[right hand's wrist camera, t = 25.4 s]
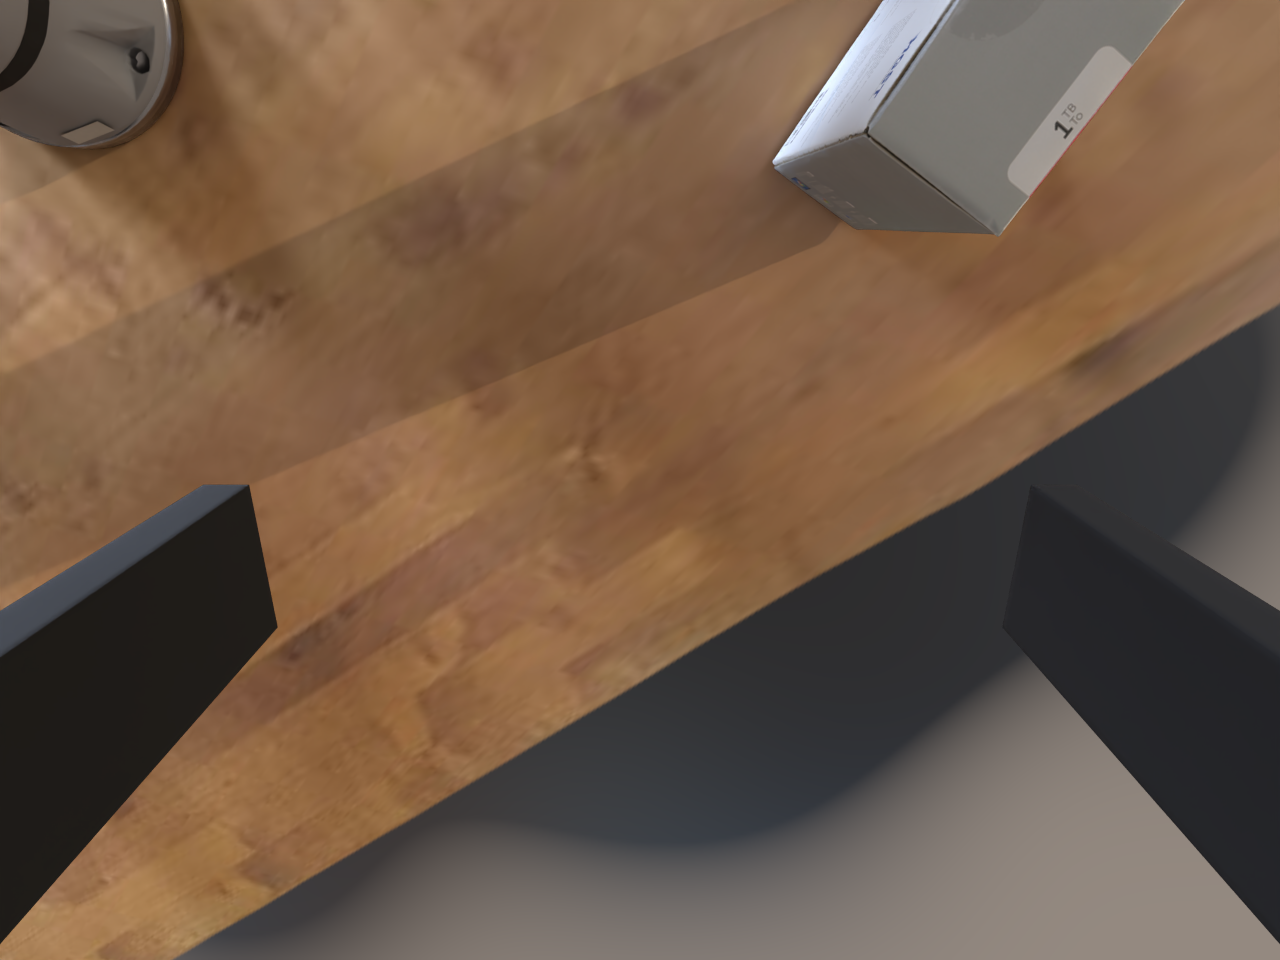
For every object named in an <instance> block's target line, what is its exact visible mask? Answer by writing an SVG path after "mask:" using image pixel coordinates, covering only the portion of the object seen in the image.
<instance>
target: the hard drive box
mask: <svg viewBox="0 0 1280 960" xmlns="http://www.w3.org/2000/svg"><path fill="white" fill-rule="evenodd" d="M1184 1H1185V0H883V1H882V3H881V4H880V6H879V7H878V9H877V10H876V12H875V14H874V15H873V17H872V18H871V19H870V21H869V22H868V24H867V25H866V27H865V28H864V29H863V31H862V32H861V34H860V35H859V36H858V38H857V39H856V41H855V42H854V44H853V45H852V46H851V48H850V49H849V51H848V52H847V54H846V55H845V57H844V58H843V60H842V61H841V63H840V64H839V65H838V67H837V68H836V70H835V71H834V73H833V74H832V76H831V77H830V79H829V80H828V81H827V83H826V84H825V86H824V87H823V89H822V90H821V92H820V93H819V94H818V96H817V97H816V99H815V100H814V102H813V103H812V104H811V106H810V107H809V109H808V110H807V112H806V113H805V115H804V116H803V118H802V119H801V121H800V122H799V123H798V125H797V126H796V128H795V130H794V131H793V133H792V134H791V135H790V137H789V138H788V140H787V141H786V143H785V144H784V145H783V147H782V148H781V150H780V151H779V153H778V154H777V156H776V157H775V159H774V160H773V164H774V165H775V170H777V171H778V172H779V173H781V174H782V175H783V176H784V177H786V178H787V179H788V180H790V181H791V182H792V183H794V184H795V185H796V186H798V187H799V188H800V189H802V190H803V191H804V192H806V193H807V194H808V195H810V196H811V197H812V198H814V199H815V200H816V201H818V202H819V203H821V204H822V205H823V206H824V207H826V208H827V209H828V210H830V211H831V212H832V213H834V214H835V215H837V216H838V217H839V218H841V219H842V220H843V221H845V222H846V223H847V224H849V225H850V226H852V227H853V228H855V229H866V230H893V231H918V232H949V233H978V234H995V235H996V236H1000V235H1001V233H1002V232H1003V231H1004V229H1005V228H1006V227H1007V225H1008V224H1009V223H1010V222H1011V220H1012V219H1013V218H1014V216H1015V215H1016V214H1017V213H1018V211H1019V210H1020V209H1021V207H1022V206H1023V205H1024V204H1025V202H1026V201H1027V200H1028V199H1029V198H1030V197H1031V195H1032V194H1033V193H1034V192H1035V190H1036V189H1037V188H1038V187H1039V185H1040V184H1041V183H1042V182H1043V180H1044V179H1045V178H1046V176H1047V175H1048V174H1049V173H1050V171H1051V170H1052V169H1053V168H1054V166H1055V165H1056V164H1057V162H1058V161H1059V160H1060V158H1061V157H1062V156H1063V155H1064V153H1065V152H1066V151H1067V150H1068V148H1069V147H1070V146H1071V145H1072V144H1073V142H1074V141H1075V140H1076V138H1077V137H1078V136H1079V135H1080V133H1081V132H1082V131H1083V129H1084V128H1085V127H1086V125H1087V124H1088V123H1089V122H1090V120H1091V119H1092V118H1093V116H1094V115H1095V114H1096V113H1097V111H1098V110H1099V109H1100V107H1101V106H1102V105H1103V104H1104V102H1105V101H1106V100H1107V99H1108V97H1109V96H1110V95H1111V93H1112V92H1113V91H1114V90H1115V88H1116V87H1117V86H1118V85H1119V83H1120V82H1121V81H1122V79H1123V78H1124V77H1125V76H1126V74H1127V73H1128V72H1129V70H1130V69H1131V67H1132V66H1133V65H1134V63H1135V62H1136V60H1137V59H1138V58H1139V57H1140V55H1141V54H1142V53H1143V52H1144V50H1145V49H1146V48H1147V47H1148V45H1149V44H1150V43H1151V41H1152V40H1153V39H1154V38H1155V36H1156V35H1157V34H1158V33H1159V31H1160V30H1161V29H1162V28H1163V26H1164V25H1165V24H1166V23H1167V22H1168V20H1169V19H1170V18H1171V17H1172V15H1173V14H1174V13H1175V12H1176V10H1177V9H1178V8H1179V7H1180V6H1181V4H1182V3H1183V2H1184Z"/></svg>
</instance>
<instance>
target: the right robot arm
mask: <svg viewBox="0 0 1280 960" xmlns="http://www.w3.org/2000/svg"><path fill="white" fill-rule="evenodd" d="M183 53H184V35H183V24H182V18H181V11H180V7H179V3H178V0H0V126H1V127H3V128H5V129H7V130H8V131H10V132H12V133H14V134H17V135H19V136H21V137H24V138H26V139H29V140H32V141H35V142H39V143H43V144H47V145H53V146H61V147H69V148H78V149H101V148H108V147H113V146H116V145H120V144H123V143H125V142H128V141H130V140H132V139H134V138H136V137H137V136H139V135H141V134H142V133H144V132H145V131H146V130H147V129H149V128H150V127H151V126H152V125H153V124H154V123H155V122H156V121H157V120H158V119H159V118H160V116H161V115H162V114H163V112H164V111H165V110H166V108H167V106H168V105H169V103H170V101H171V100H172V97H173V95H174V93H175V90H176V88H177V85H178V81H179V78H180V74H181V69H182V63H183ZM276 629H277V622H276V617H275V612H274V607H273V602H272V597H271V592H270V587H269V582H268V577H267V572H266V567H265V562H264V557H263V552H262V547H261V542H260V537H259V532H258V527H257V522H256V517H255V512H254V507H253V502H252V497H251V492H250V487H249V485H202V486H201V487H199V488H197V489H196V490H194V491H193V492H191V493H189V494H188V495H186V496H185V497H183V498H181V499H180V500H178V501H177V502H175V503H173V504H172V505H170V506H168V507H167V508H165V509H164V510H162V511H160V512H159V513H157V514H156V515H154V516H152V517H151V518H149V519H148V520H146V521H144V522H143V523H141V524H139V525H138V526H136V527H135V528H133V529H131V530H130V531H128V532H127V533H125V534H123V535H122V536H120V537H119V538H117V539H115V540H114V541H112V542H110V543H109V544H107V545H106V546H104V547H102V548H101V549H99V550H98V551H96V552H94V553H93V554H91V555H90V556H88V557H86V558H85V559H83V560H81V561H80V562H78V563H77V564H75V565H73V566H72V567H70V568H69V569H67V570H65V571H64V572H62V573H61V574H59V575H57V576H56V577H54V578H52V579H51V580H49V581H48V582H46V583H44V584H43V585H41V586H40V587H38V588H36V589H35V590H33V591H32V592H30V593H28V594H27V595H25V596H24V597H22V598H20V599H19V600H17V601H15V602H14V603H12V604H11V605H9V606H7V607H6V608H4V609H3V610H1V611H0V944H1V942H2V941H3V940H4V939H5V938H6V937H7V936H8V934H9V933H10V932H11V931H12V930H13V929H14V928H15V926H16V925H17V924H18V923H19V922H20V921H21V920H22V918H23V917H24V916H25V915H26V914H27V913H28V912H29V910H30V909H31V908H32V907H33V906H34V905H35V904H36V902H37V901H38V900H39V899H40V898H41V897H42V896H43V894H44V893H45V892H46V891H47V890H48V889H49V888H50V886H51V885H52V884H53V883H54V882H55V881H56V880H57V878H58V877H59V876H60V875H61V874H62V873H63V872H64V870H65V869H66V868H67V867H68V866H69V865H70V864H71V863H72V861H73V860H74V859H75V858H76V857H77V856H78V855H79V853H80V852H81V851H82V850H83V849H84V848H85V847H86V845H87V844H88V843H89V842H90V841H91V840H92V839H93V837H94V836H95V835H96V834H97V833H98V832H99V831H100V829H101V828H102V827H103V826H104V825H105V824H106V823H107V821H108V820H109V819H110V818H111V817H112V816H113V815H114V813H115V812H116V811H117V810H118V809H119V808H120V807H121V805H122V804H123V803H124V802H125V801H126V800H127V799H128V797H129V796H130V795H131V794H132V793H133V792H134V791H135V789H136V788H137V787H138V786H139V785H140V784H141V783H142V781H143V780H144V779H145V778H146V777H147V776H148V775H149V773H150V772H151V771H152V770H153V769H154V768H155V767H156V766H157V764H158V763H159V762H160V761H161V760H162V759H163V758H164V756H165V755H166V754H167V753H168V752H169V751H170V750H171V748H172V747H173V746H174V745H175V744H176V743H177V742H178V740H179V739H180V738H181V737H182V736H183V735H184V734H185V732H186V731H187V730H188V729H189V728H190V727H191V726H192V724H193V723H194V722H195V721H196V720H197V719H198V718H199V716H200V715H201V714H202V713H203V712H204V711H205V710H206V708H207V707H208V706H209V705H210V704H211V703H212V702H213V700H214V699H215V698H216V697H217V696H218V695H219V694H220V692H221V691H222V690H223V689H224V688H225V687H226V686H227V684H228V683H229V682H230V681H231V680H232V679H233V678H234V676H235V675H236V674H237V673H238V672H239V671H240V670H241V668H242V667H243V666H244V665H245V664H246V663H247V662H248V661H249V659H250V658H251V657H252V656H253V655H254V654H255V653H256V651H257V650H258V649H259V648H260V647H261V646H262V645H263V643H264V642H265V641H266V640H267V639H268V638H269V637H270V635H271V634H272V633H273V632H274V631H275V630H276ZM1003 629H1004V630H1005V631H1006V632H1007V633H1008V634H1009V635H1010V637H1011V638H1012V639H1013V640H1014V641H1015V642H1016V643H1017V645H1018V646H1019V647H1020V648H1021V649H1022V650H1023V651H1024V653H1025V654H1026V655H1027V656H1028V657H1029V658H1030V659H1031V660H1032V662H1033V663H1034V664H1035V665H1036V666H1037V667H1038V668H1039V670H1040V671H1041V672H1042V673H1043V674H1044V675H1045V676H1046V678H1047V679H1048V680H1049V681H1050V682H1051V683H1052V684H1053V686H1054V687H1055V688H1056V689H1057V690H1058V691H1059V692H1060V694H1061V695H1062V696H1063V697H1064V698H1065V699H1066V700H1067V702H1068V703H1069V704H1070V705H1071V706H1072V707H1073V708H1074V710H1075V711H1076V712H1077V713H1078V714H1079V715H1080V716H1081V718H1082V719H1083V720H1084V721H1085V722H1086V723H1087V724H1088V726H1089V727H1090V728H1091V729H1092V730H1093V731H1094V732H1095V733H1096V735H1097V736H1098V737H1099V738H1100V739H1101V740H1102V742H1103V743H1104V744H1105V745H1106V746H1107V747H1108V748H1109V750H1110V751H1111V752H1112V753H1113V754H1114V755H1115V756H1116V758H1117V759H1118V760H1119V761H1120V762H1121V763H1122V764H1123V766H1124V767H1125V768H1126V769H1127V770H1128V771H1129V772H1130V773H1131V775H1132V776H1133V777H1134V778H1135V779H1136V780H1137V781H1138V783H1139V784H1140V785H1141V786H1142V787H1143V788H1144V789H1145V791H1146V792H1147V793H1148V794H1149V795H1150V796H1151V797H1152V799H1153V800H1154V801H1155V802H1156V803H1157V804H1158V805H1159V807H1160V808H1161V809H1162V810H1163V811H1164V812H1165V813H1166V815H1167V816H1168V817H1169V818H1170V819H1171V820H1172V821H1173V823H1174V824H1175V825H1176V826H1177V827H1178V828H1179V829H1180V831H1181V832H1182V833H1183V834H1184V835H1185V836H1186V837H1187V839H1188V840H1189V841H1190V842H1191V843H1192V844H1193V845H1194V847H1195V848H1196V849H1197V850H1198V851H1199V852H1200V853H1201V854H1202V856H1203V857H1204V858H1205V859H1206V860H1207V861H1208V863H1209V864H1210V865H1211V866H1212V867H1213V868H1214V869H1215V870H1216V872H1217V873H1218V874H1219V875H1220V876H1221V877H1222V878H1223V880H1224V881H1225V882H1226V883H1227V884H1228V885H1229V886H1230V888H1231V889H1232V890H1233V891H1234V892H1235V893H1236V894H1237V896H1238V897H1239V898H1240V899H1241V900H1242V901H1243V902H1244V904H1245V905H1246V906H1247V907H1248V908H1249V909H1250V910H1251V912H1252V913H1253V914H1254V915H1255V916H1256V917H1257V918H1258V920H1259V921H1260V922H1261V923H1262V924H1263V925H1264V926H1265V928H1266V929H1267V930H1268V931H1269V932H1270V933H1271V934H1272V936H1273V937H1274V938H1275V939H1276V940H1277V941H1278V942H1279V943H1280V611H1279V610H1277V609H1276V608H1274V607H1273V606H1271V605H1269V604H1268V603H1266V602H1265V601H1263V600H1261V599H1260V598H1258V597H1256V596H1255V595H1253V594H1252V593H1250V592H1248V591H1247V590H1245V589H1244V588H1242V587H1240V586H1239V585H1237V584H1236V583H1234V582H1232V581H1231V580H1229V579H1228V578H1226V577H1224V576H1223V575H1221V574H1219V573H1218V572H1216V571H1215V570H1213V569H1211V568H1210V567H1208V566H1207V565H1205V564H1203V563H1202V562H1200V561H1199V560H1197V559H1195V558H1194V557H1192V556H1190V555H1189V554H1187V553H1186V552H1184V551H1182V550H1181V549H1179V548H1178V547H1176V546H1174V545H1173V544H1171V543H1170V542H1168V541H1166V540H1165V539H1163V538H1161V537H1160V536H1158V535H1157V534H1155V533H1153V532H1152V531H1150V530H1149V529H1147V528H1145V527H1144V526H1142V525H1141V524H1139V523H1137V522H1136V521H1134V520H1132V519H1131V518H1129V517H1128V516H1126V515H1124V514H1123V513H1121V512H1120V511H1118V510H1116V509H1115V508H1113V507H1111V506H1110V505H1108V504H1107V503H1105V502H1103V501H1102V500H1100V499H1099V498H1097V497H1095V496H1094V495H1092V494H1091V493H1089V492H1087V491H1086V490H1084V489H1083V488H1081V487H1079V486H1078V485H1031V487H1030V492H1029V497H1028V502H1027V507H1026V512H1025V517H1024V523H1023V527H1022V532H1021V537H1020V542H1019V547H1018V552H1017V557H1016V562H1015V567H1014V572H1013V577H1012V582H1011V587H1010V592H1009V597H1008V602H1007V607H1006V612H1005V617H1004V622H1003Z"/></svg>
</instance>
